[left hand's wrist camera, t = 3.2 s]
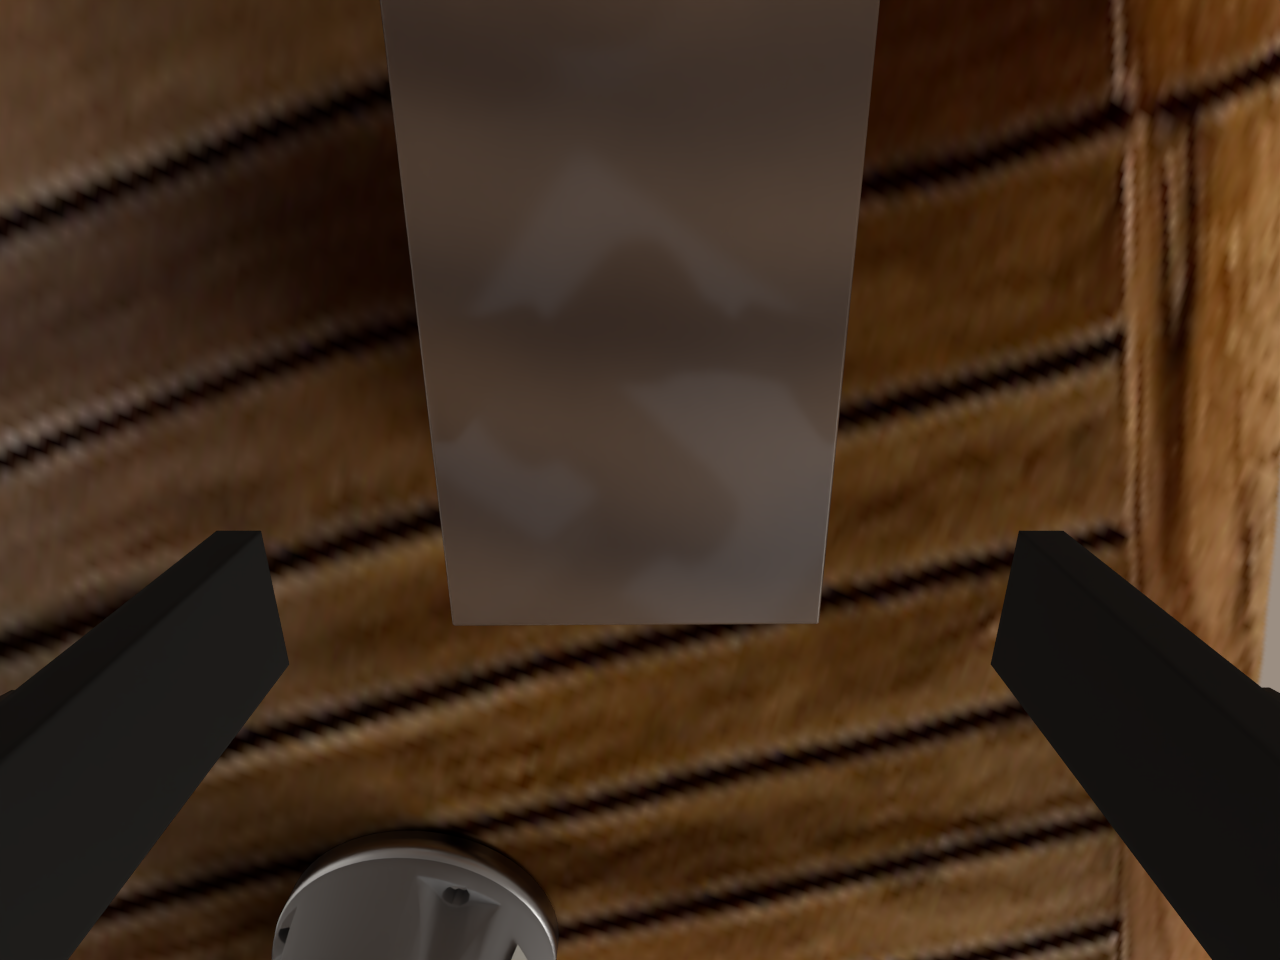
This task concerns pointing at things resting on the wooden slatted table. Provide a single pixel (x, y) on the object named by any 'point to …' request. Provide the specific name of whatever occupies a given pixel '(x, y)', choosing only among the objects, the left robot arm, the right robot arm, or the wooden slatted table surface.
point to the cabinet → (632, 296)
